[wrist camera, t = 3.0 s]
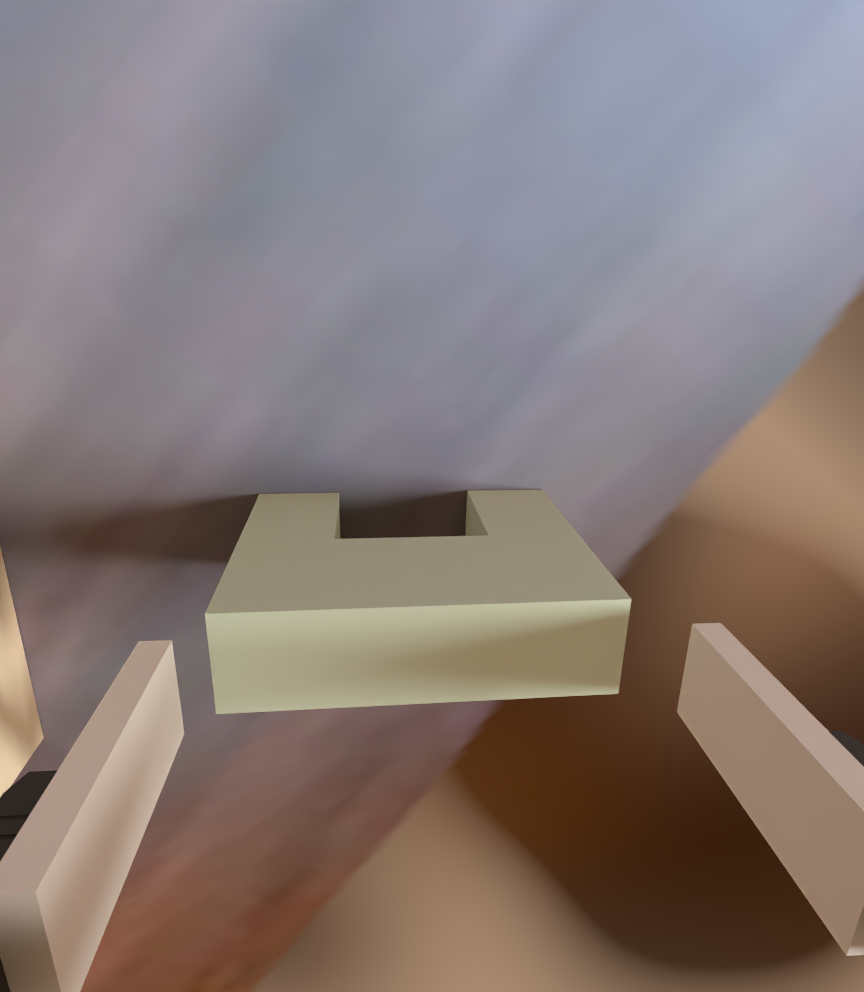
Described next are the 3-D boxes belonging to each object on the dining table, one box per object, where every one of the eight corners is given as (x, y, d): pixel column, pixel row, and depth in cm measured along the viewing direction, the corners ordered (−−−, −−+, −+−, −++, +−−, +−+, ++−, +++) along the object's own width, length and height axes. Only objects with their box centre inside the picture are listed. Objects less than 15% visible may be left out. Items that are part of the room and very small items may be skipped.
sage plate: (264, 565, 25) (216, 713, 17) (259, 493, 24) (205, 613, 16) (535, 557, 26) (618, 693, 18) (541, 489, 25) (631, 598, 17)
